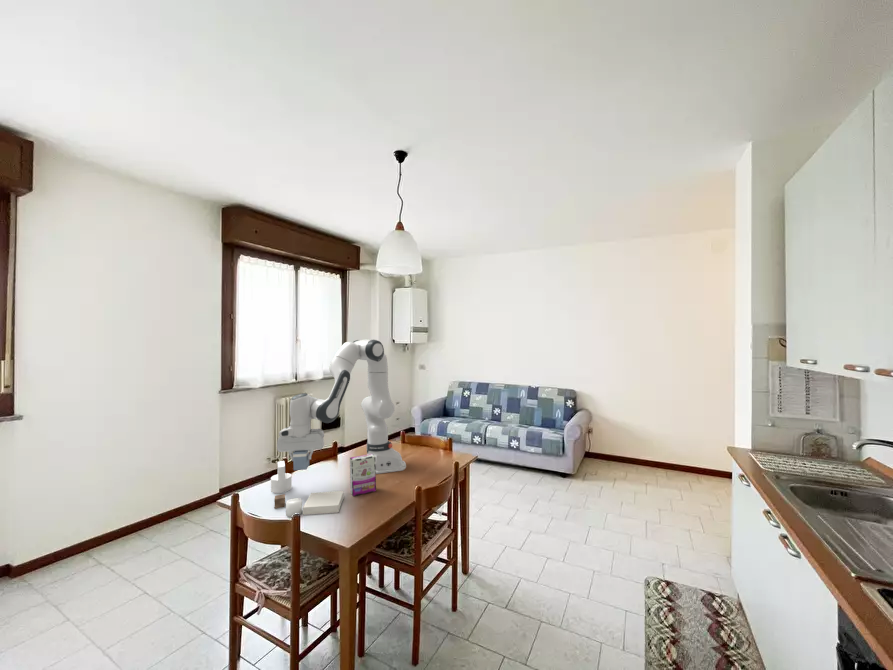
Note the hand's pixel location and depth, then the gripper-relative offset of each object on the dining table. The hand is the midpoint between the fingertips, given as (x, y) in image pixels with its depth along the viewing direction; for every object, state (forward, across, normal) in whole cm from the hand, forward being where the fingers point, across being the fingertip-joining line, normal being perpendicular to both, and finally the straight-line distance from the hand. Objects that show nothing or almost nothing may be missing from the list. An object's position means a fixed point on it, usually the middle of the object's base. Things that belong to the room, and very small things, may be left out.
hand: (301, 459), depth 167 cm
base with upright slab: (+16, +12, -8) cm, 21 cm away
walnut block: (+16, +6, +10) cm, 20 cm away
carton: (+4, 0, 0) cm, 4 cm away
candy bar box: (+17, -27, +1) cm, 32 cm away
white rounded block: (+16, -1, +18) cm, 24 cm away
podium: (+16, -12, +13) cm, 24 cm away
